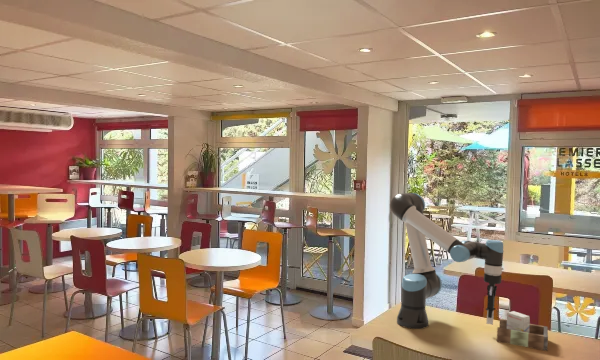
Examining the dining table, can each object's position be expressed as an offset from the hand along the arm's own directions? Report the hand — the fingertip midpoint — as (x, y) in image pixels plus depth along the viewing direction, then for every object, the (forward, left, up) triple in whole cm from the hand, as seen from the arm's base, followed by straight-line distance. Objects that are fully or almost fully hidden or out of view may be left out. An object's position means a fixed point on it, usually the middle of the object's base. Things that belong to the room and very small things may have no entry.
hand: (489, 323), depth 216 cm
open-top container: (+13, 0, -5) cm, 14 cm away
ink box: (+12, 0, -5) cm, 13 cm away
